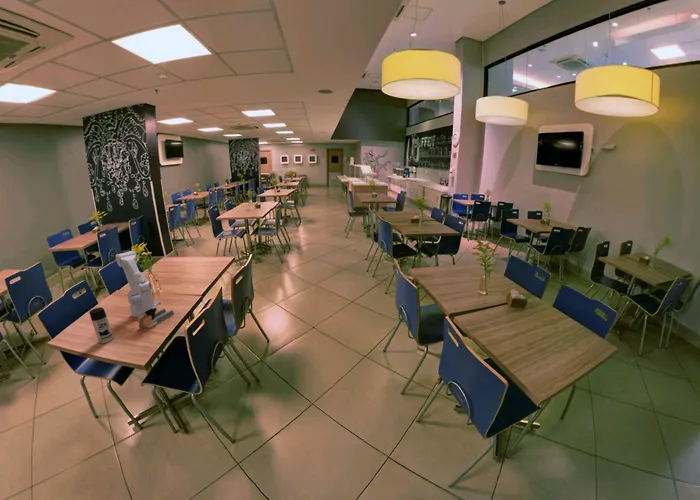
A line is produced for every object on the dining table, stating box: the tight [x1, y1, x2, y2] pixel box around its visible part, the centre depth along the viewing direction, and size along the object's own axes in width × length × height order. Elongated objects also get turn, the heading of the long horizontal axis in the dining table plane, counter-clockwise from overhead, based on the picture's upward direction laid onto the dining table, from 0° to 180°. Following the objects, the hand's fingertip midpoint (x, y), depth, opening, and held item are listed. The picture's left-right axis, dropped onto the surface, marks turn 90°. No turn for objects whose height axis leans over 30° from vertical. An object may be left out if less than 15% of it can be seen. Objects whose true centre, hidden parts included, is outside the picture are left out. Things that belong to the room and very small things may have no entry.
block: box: [137, 314, 153, 328], centre depth 180 cm, size 5×5×6 cm
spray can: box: [88, 306, 114, 344], centre depth 165 cm, size 7×7×20 cm
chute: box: [138, 308, 175, 330], centre depth 187 cm, size 9×18×3 cm, turn 162°
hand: (152, 319), depth 185 cm, fingers closed
